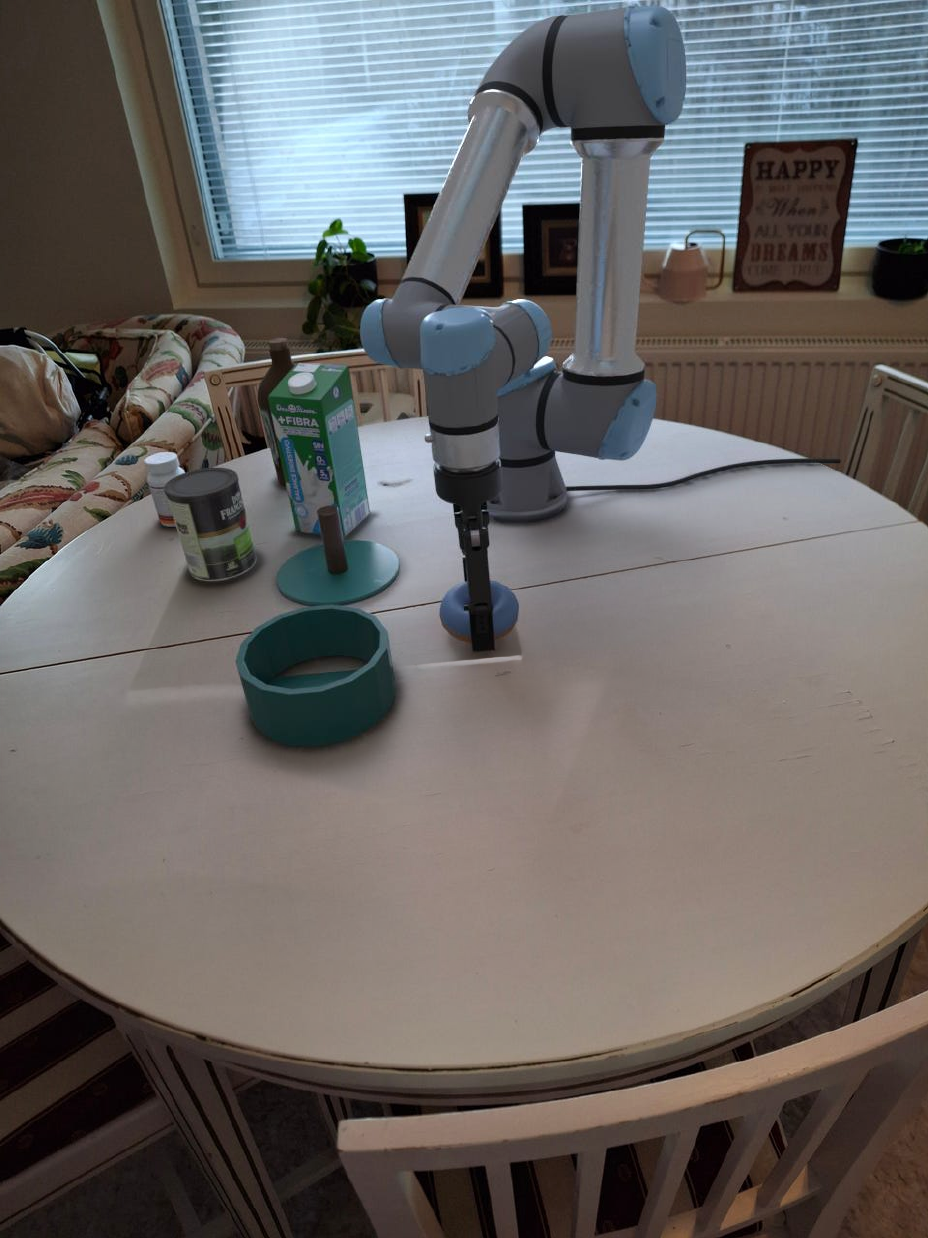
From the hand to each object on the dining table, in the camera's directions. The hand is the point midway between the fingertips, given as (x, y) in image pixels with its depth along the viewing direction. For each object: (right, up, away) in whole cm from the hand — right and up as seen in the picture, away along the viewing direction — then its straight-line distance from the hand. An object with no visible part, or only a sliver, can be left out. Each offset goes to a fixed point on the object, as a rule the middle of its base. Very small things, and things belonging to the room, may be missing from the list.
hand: (479, 623), depth 101 cm
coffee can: (-39, +8, +21) cm, 45 cm away
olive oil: (-32, +26, +47) cm, 62 cm away
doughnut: (0, 0, 0) cm, 1 cm away
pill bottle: (-51, +17, +36) cm, 64 cm away
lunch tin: (-18, -9, -7) cm, 22 cm away
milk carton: (-23, +16, +30) cm, 41 cm away
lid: (-20, +7, +16) cm, 27 cm away
